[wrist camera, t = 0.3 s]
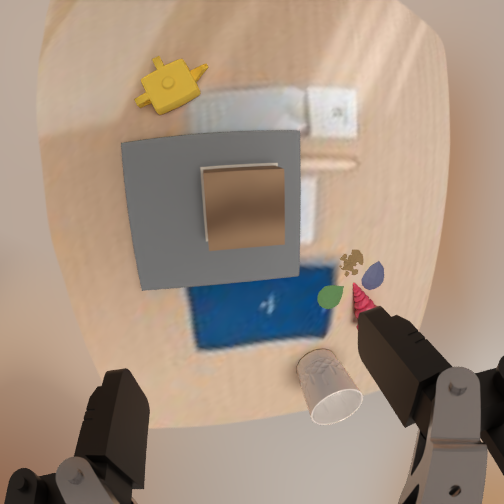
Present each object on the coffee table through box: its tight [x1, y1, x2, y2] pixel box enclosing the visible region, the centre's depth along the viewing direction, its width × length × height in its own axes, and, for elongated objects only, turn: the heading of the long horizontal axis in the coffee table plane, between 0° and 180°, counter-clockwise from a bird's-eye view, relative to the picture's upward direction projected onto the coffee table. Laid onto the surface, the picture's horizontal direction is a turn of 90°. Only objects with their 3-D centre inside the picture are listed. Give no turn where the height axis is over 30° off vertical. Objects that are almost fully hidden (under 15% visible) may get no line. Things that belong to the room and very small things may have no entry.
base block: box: [203, 166, 285, 251], centre depth 32 cm, size 8×8×4 cm
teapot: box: [134, 56, 208, 115], centre depth 26 cm, size 8×6×5 cm
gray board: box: [121, 131, 301, 291], centre depth 34 cm, size 18×20×1 cm
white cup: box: [297, 349, 363, 425], centre depth 41 cm, size 8×8×10 cm
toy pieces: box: [318, 250, 384, 329], centre depth 40 cm, size 12×11×4 cm
